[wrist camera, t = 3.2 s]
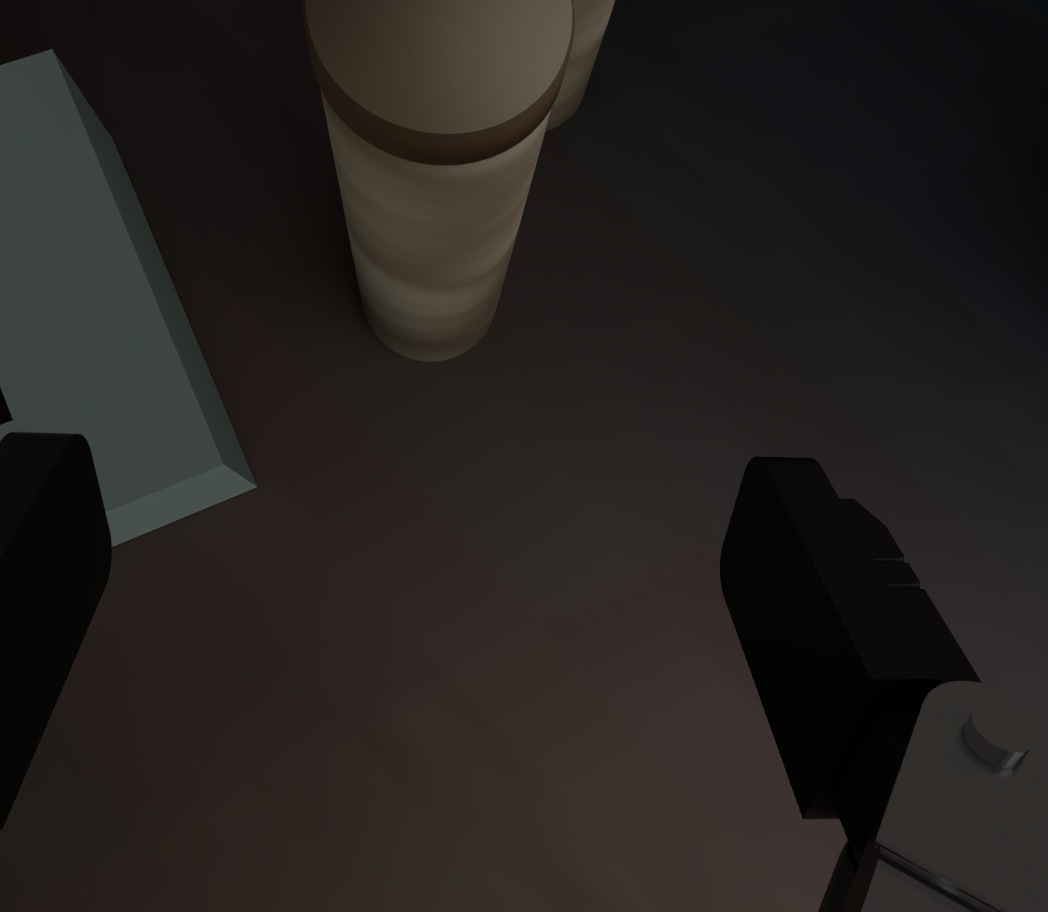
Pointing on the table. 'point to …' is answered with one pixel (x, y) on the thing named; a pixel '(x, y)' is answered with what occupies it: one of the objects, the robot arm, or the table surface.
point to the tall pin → (435, 150)
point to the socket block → (99, 314)
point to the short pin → (580, 57)
